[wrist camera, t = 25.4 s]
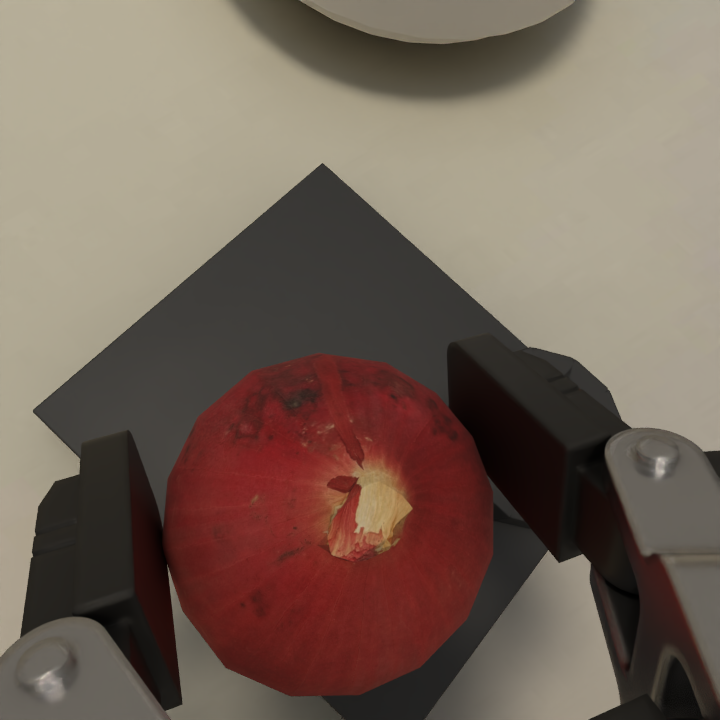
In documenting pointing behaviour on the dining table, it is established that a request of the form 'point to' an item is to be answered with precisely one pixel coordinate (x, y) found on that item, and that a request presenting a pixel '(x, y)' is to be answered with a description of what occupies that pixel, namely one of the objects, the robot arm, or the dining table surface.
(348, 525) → the pomegranate
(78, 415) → the scale
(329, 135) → the dining table surface
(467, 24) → the bowl
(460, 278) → the dining table surface
